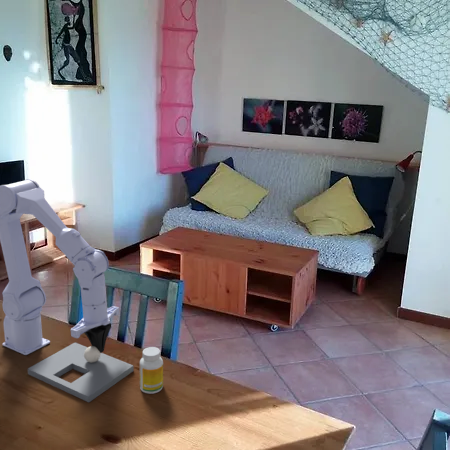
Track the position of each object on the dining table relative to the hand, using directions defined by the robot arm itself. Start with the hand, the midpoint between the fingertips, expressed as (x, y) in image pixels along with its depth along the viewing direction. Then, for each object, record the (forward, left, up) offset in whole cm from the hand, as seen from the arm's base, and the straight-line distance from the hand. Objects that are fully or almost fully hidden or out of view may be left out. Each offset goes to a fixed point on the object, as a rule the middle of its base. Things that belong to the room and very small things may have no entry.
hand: (98, 351), depth 126 cm
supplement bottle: (+17, -1, -4) cm, 18 cm away
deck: (-1, -5, -4) cm, 6 cm away
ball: (-1, -2, 0) cm, 2 cm away
